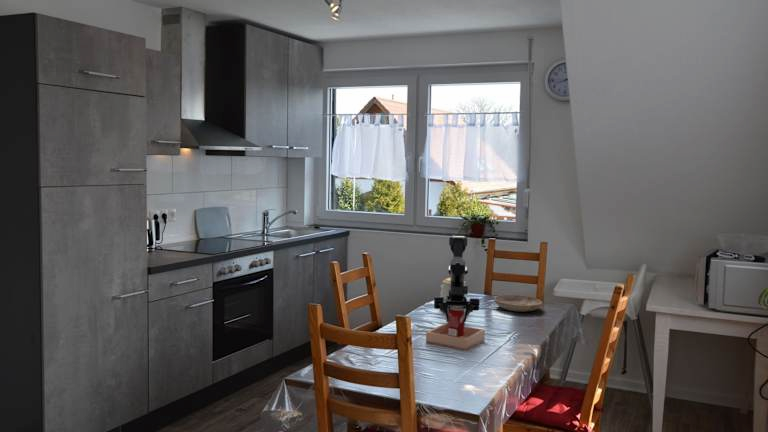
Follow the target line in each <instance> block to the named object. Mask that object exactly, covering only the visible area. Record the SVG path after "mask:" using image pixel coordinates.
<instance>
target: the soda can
mask: <svg viewBox="0 0 768 432" xmlns="http://www.w3.org/2000/svg"><path fill="white" fill-rule="evenodd" d="M450 308H451V309H450V310H449V313H448V321H447V323H448V329H447V335H448V336H454V337H459V338H461V337H463V336H464V326H465V322H464V318H465V312H464V308H463V307H458V306H452V307H450Z"/></svg>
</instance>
